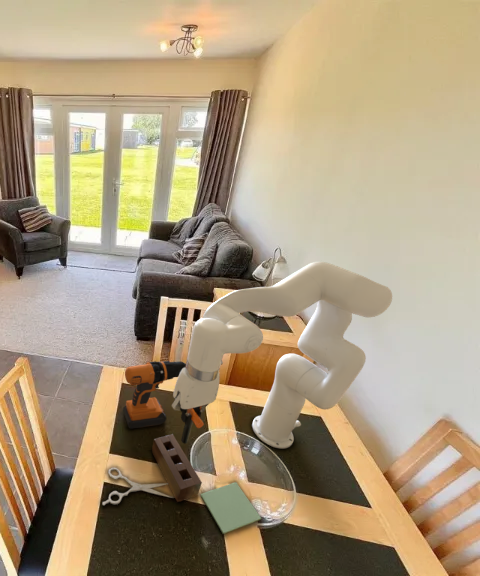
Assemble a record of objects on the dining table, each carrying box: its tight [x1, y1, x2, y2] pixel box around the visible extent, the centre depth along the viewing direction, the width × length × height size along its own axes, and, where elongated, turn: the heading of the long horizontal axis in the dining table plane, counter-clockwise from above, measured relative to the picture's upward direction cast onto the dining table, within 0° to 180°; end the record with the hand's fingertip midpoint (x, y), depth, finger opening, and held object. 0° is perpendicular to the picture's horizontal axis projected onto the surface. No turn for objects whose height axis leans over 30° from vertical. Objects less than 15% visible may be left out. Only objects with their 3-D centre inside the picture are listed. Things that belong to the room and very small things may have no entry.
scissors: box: [101, 467, 174, 506], centre depth 89 cm, size 11×1×20 cm
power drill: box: [122, 360, 186, 429], centre depth 106 cm, size 22×7×25 cm, turn 101°
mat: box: [200, 481, 262, 535], centre depth 86 cm, size 12×10×1 cm
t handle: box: [180, 408, 205, 445], centre depth 84 cm, size 2×8×12 cm, turn 17°
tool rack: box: [151, 433, 203, 503], centre depth 93 cm, size 7×16×6 cm, turn 18°
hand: (189, 420), depth 83 cm, fingers closed on t handle, 2 cm apart
